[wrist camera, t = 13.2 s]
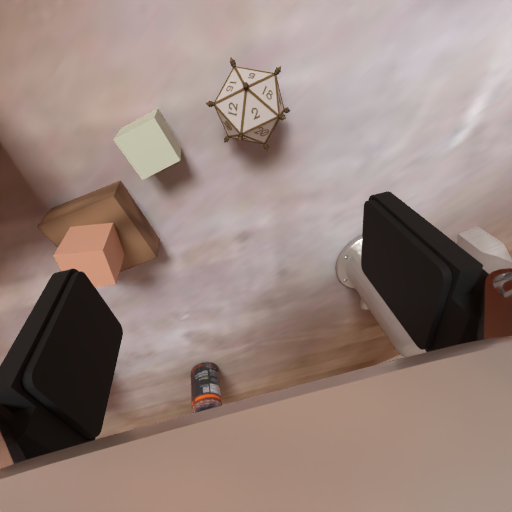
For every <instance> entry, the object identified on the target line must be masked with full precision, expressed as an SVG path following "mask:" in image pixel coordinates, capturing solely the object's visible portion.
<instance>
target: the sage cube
mask: <svg viewBox="0 0 512 512" xmlns="http://www.w3.org/2000/svg"><path fill="white" fill-rule="evenodd" d="M113 140H114V142H115V143H116V144H117V146H118V147H119V149H120V150H121V151H122V153H123V154H124V155H125V157H126V158H127V159H128V161H129V162H130V164H131V165H132V166H133V168H134V169H135V170H136V172H137V173H138V174H139V176H140V177H141V179H142V180H144V179H146V178H148V177H149V176H151V175H153V174H155V173H157V172H159V171H161V170H163V169H165V168H167V167H169V166H171V165H173V164H175V163H177V162H179V161H180V160H181V146H180V145H179V143H178V141H177V139H176V138H175V136H174V134H173V133H172V131H171V129H170V128H169V126H168V124H167V123H166V121H165V119H164V118H163V116H162V114H161V113H160V111H159V109H156V110H154V111H152V112H150V113H148V114H147V115H145V116H143V117H141V118H139V119H137V120H135V121H134V122H132V123H130V124H128V125H126V126H124V127H123V128H121V129H120V131H119V132H118V134H117V135H116V137H115V138H114V139H113Z"/></svg>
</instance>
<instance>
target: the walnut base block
mask: <svg viewBox="0 0 512 512" xmlns="http://www.w3.org/2000/svg"><path fill="white" fill-rule="evenodd" d="M104 223H114V226H115V229H116V232H117V235H118V237H119V240H120V243H121V246H122V249H123V252H124V258H123V262H122V265H121V269H120V272H121V271H123V270H126V269H129V268H131V267H134V266H136V265H139V264H141V263H144V262H147V261H149V260H152V259H154V258H157V254H158V247H159V238H158V236H157V235H156V233H155V232H154V230H153V229H152V227H151V226H150V224H149V223H148V221H147V220H146V218H145V217H144V215H143V214H142V212H141V211H140V209H139V208H138V206H137V205H136V203H135V202H134V200H133V199H132V197H131V196H130V194H129V193H128V191H127V190H126V188H125V187H124V185H123V184H122V182H121V181H118V182H116V183H113V184H111V185H108V186H106V187H103V188H101V189H98V190H96V191H93V192H91V193H89V194H86V195H84V196H81V197H79V198H76V199H74V200H71V201H69V202H66V203H64V204H62V205H59V206H57V207H54V208H52V209H51V210H50V211H49V213H48V214H47V215H46V216H45V218H44V219H43V220H42V222H41V223H40V224H39V225H38V228H39V229H40V230H41V231H42V232H43V233H44V234H45V235H46V236H47V237H48V238H49V239H50V240H51V241H52V242H53V243H54V244H55V245H56V246H57V247H59V245H60V243H61V242H62V240H63V238H64V237H65V235H66V233H67V232H68V230H69V228H70V227H74V226H84V225H94V224H104Z"/></svg>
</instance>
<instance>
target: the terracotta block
mask: <svg viewBox="0 0 512 512" xmlns="http://www.w3.org/2000/svg"><path fill="white" fill-rule="evenodd" d="M53 256H54V258H55V260H56V262H57V264H58V266H59V268H60V270H61V271H65V270H69V269H76V270H78V271H79V272H80V271H82V272H84V273H85V274H86V275H87V277H88V278H89V280H90V281H91V283H92V284H93V286H94V287H99V286H107V285H115V284H116V283H117V280H118V276H119V272H120V269H121V265H122V262H123V258H124V252H123V249H122V246H121V243H120V240H119V237H118V235H117V232H116V229H115V226H114V223H104V224H94V225H84V226H74V227H70V228H69V230H68V232H67V233H66V235H65V237H64V238H63V240H62V242H61V243H60V245H59V247H58V248H57V250H56V252H55V253H54V255H53Z"/></svg>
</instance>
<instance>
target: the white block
mask: <svg viewBox="0 0 512 512" xmlns="http://www.w3.org/2000/svg"><path fill="white" fill-rule="evenodd" d="M457 245H458V246H460V247H461V248H462V249H463V250H465V251H466V252H467V253H469V254H470V255H471V256H472V257H474V258H475V259H476V260H477V261H479V262H480V263H481V264H483V268H482V269H484V270H485V271H486V272H487V273H489V274H490V273H491V272H493V271H496V270H499V269H507V268H512V258H511V257H510V255H509V253H508V251H507V249H506V247H505V245H504V244H503V243H502V242H500V241H499V240H497V239H496V238H494V237H493V236H491V235H490V234H488V233H487V232H485V231H484V230H482V229H481V228H479V227H478V226H477V227H474V228H472V229H469V230H467V231H464V232H462V233H459V234H458V241H457Z"/></svg>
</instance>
